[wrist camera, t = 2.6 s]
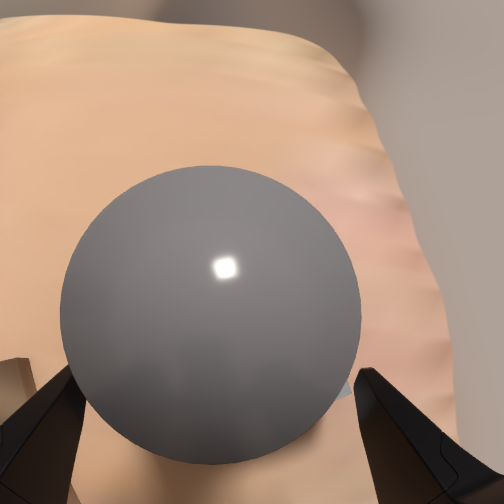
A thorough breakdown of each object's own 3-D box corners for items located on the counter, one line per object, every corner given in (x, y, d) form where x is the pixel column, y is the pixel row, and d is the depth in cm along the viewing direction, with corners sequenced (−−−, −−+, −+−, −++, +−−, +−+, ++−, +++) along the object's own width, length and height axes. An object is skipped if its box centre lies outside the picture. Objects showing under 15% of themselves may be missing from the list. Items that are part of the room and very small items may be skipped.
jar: (287, 367, 17) (398, 396, 5) (193, 397, 17) (111, 486, 4) (255, 276, 19) (295, 139, 7) (164, 304, 18) (45, 215, 6)
